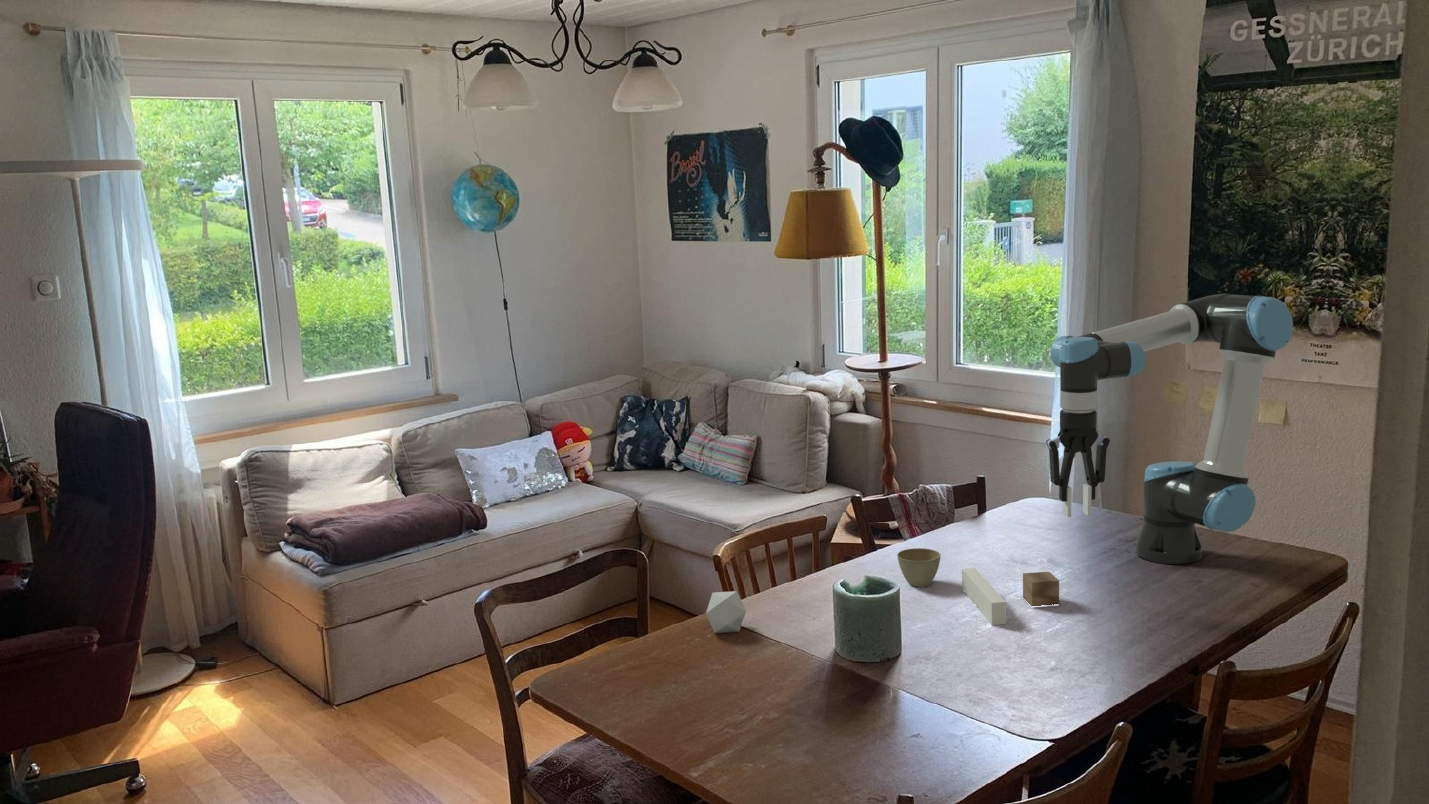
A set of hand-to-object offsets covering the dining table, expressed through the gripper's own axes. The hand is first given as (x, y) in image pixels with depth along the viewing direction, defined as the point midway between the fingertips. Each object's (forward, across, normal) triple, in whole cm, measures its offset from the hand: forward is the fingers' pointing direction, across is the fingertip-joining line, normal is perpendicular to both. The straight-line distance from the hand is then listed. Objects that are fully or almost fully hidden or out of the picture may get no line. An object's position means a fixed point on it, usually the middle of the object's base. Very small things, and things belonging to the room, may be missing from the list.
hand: (1077, 514), depth 241 cm
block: (+20, +8, 0) cm, 21 cm away
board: (+20, +21, 0) cm, 29 cm away
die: (+20, +78, +3) cm, 81 cm away
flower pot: (+20, +31, -17) cm, 41 cm away
